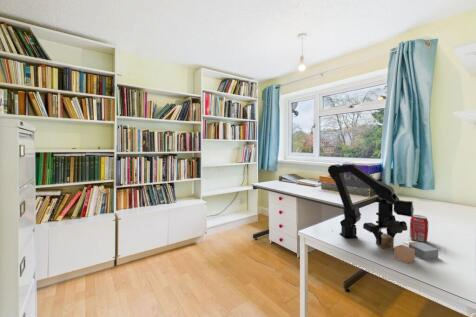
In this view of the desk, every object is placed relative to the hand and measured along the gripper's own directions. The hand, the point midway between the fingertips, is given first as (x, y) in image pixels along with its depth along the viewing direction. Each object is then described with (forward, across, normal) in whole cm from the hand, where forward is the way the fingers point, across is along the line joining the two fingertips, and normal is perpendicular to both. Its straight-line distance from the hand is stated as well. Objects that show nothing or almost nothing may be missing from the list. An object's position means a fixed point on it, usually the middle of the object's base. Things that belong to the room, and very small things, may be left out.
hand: (384, 243), depth 104 cm
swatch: (+1, +15, -2) cm, 15 cm away
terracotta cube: (+1, -1, -12) cm, 12 cm away
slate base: (+1, +10, -10) cm, 14 cm away
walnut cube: (+1, 0, 0) cm, 1 cm away
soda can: (+1, +21, +3) cm, 21 cm away
